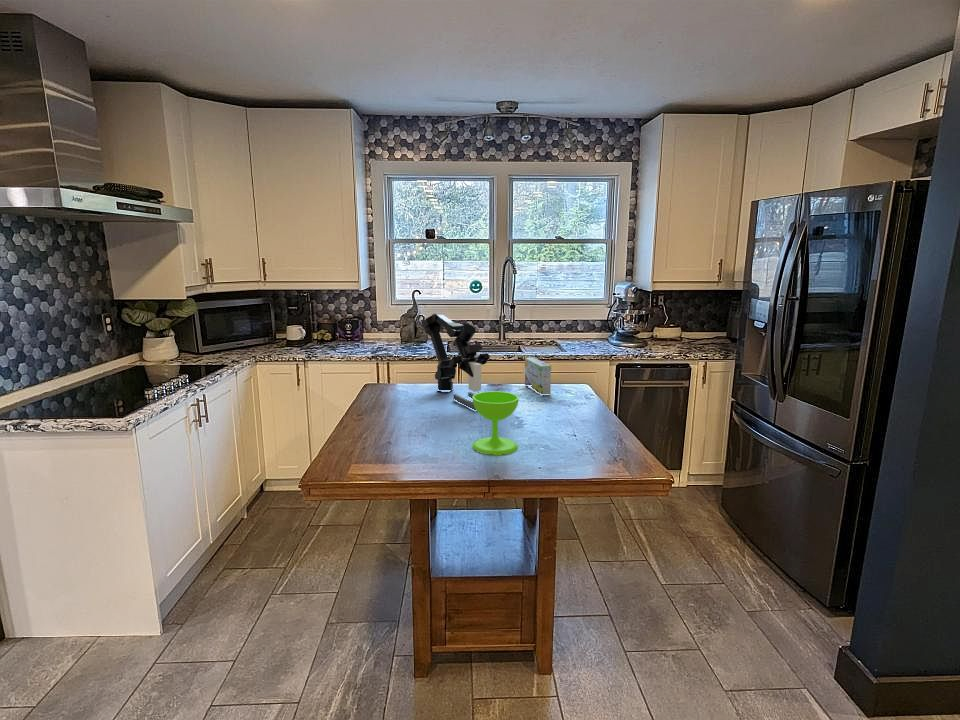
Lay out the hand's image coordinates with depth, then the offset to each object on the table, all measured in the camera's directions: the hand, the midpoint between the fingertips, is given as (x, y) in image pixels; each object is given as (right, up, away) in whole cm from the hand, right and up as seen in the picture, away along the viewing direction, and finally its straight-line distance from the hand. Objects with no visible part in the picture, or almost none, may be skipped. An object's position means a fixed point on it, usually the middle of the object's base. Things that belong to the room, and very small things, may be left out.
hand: (476, 376), depth 232 cm
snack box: (+30, -8, +29) cm, 42 cm away
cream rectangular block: (-1, -6, +2) cm, 7 cm away
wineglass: (+7, -23, -48) cm, 54 cm away
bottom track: (-2, -13, +3) cm, 14 cm away
